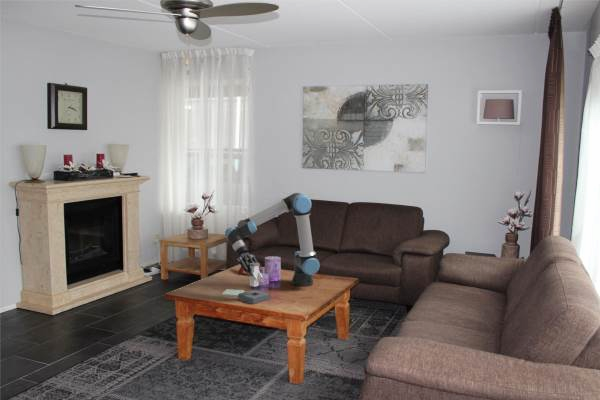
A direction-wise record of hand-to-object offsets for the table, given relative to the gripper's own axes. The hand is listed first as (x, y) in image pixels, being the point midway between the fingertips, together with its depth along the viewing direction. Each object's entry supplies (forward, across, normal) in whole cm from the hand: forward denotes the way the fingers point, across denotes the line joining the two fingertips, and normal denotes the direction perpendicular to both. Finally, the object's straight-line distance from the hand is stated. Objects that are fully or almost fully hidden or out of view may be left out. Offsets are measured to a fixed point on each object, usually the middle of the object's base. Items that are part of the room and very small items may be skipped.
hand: (258, 279), depth 325 cm
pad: (-6, +1, -26) cm, 26 cm away
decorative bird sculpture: (-30, -41, -50) cm, 71 cm away
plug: (+1, 0, -6) cm, 6 cm away
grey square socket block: (+7, 0, -12) cm, 14 cm away
